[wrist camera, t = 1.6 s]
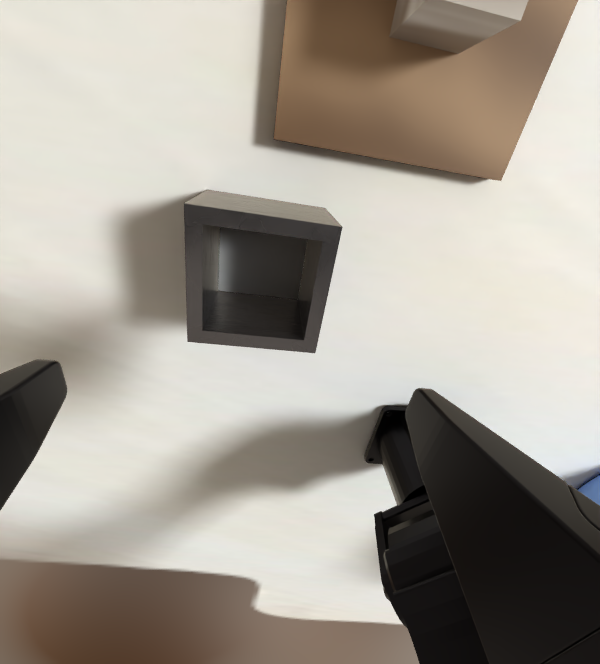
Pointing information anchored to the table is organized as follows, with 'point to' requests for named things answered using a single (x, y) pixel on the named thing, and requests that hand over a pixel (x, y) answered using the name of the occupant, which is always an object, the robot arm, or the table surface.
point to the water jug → (592, 490)
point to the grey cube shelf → (245, 309)
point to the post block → (416, 78)
